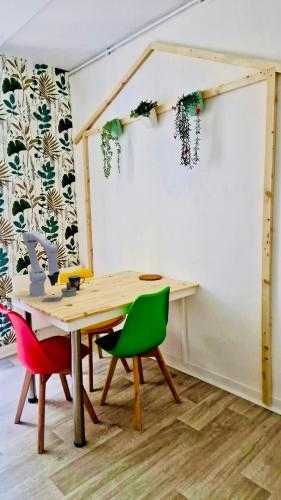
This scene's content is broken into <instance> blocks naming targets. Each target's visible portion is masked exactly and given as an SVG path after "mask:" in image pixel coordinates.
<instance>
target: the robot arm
mask: <svg viewBox="0 0 281 500" xmlns="http://www.w3.org/2000/svg"><path fill="white" fill-rule="evenodd" d="M22 240H23V243H24V245H25V246H26V250H27V253H28V254H27V255H28V257H29V261H30V266H31V270H30V272H29V273H28V274H29V281H30V283H29V297H30V298H34V297H37V298H39V297H45V296H46V295H47V292H45V290H46V289H45V282H46V280H47V278H48V280H49V283H50V286H51V287H53V286H56V284H58V282H59V275H60V273H61V269H59V265H58V264H59V263H58V252H59V246H58V244H57V243H52V242H51V241H49V240H48V238H43V236H41V233H40V231H38V230H34V231H24V232H23V235H22ZM38 243H39V245H40V247H42V248H43V249H44V251H45V254H46V257H47V262H48V263H47V265H48V274H46V272H45V269H43V268H41V267H40V263H39V259H38V255H37V254H38V253H37V251H36V247H35V246H36V245H37V244H38Z"/></svg>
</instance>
